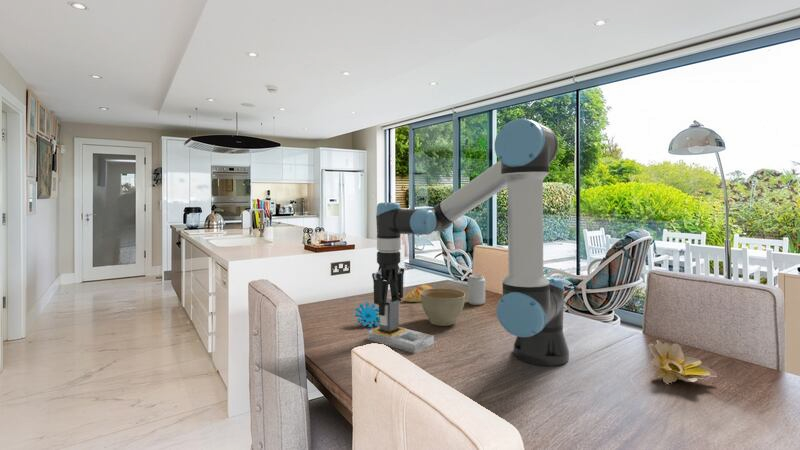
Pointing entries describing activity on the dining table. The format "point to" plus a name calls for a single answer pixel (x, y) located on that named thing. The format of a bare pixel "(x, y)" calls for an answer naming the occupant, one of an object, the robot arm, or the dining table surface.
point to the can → (476, 289)
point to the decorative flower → (677, 364)
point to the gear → (368, 315)
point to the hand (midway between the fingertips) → (389, 322)
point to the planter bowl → (442, 305)
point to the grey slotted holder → (402, 339)
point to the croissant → (416, 293)
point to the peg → (391, 317)
